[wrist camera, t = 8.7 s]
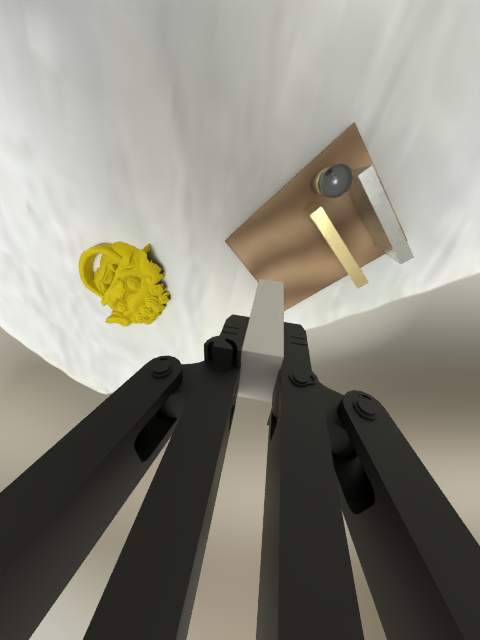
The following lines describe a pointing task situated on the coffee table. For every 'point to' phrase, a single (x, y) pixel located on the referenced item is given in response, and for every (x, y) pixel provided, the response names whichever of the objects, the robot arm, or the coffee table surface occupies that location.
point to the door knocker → (125, 282)
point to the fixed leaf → (367, 206)
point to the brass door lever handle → (334, 239)
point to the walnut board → (306, 228)
